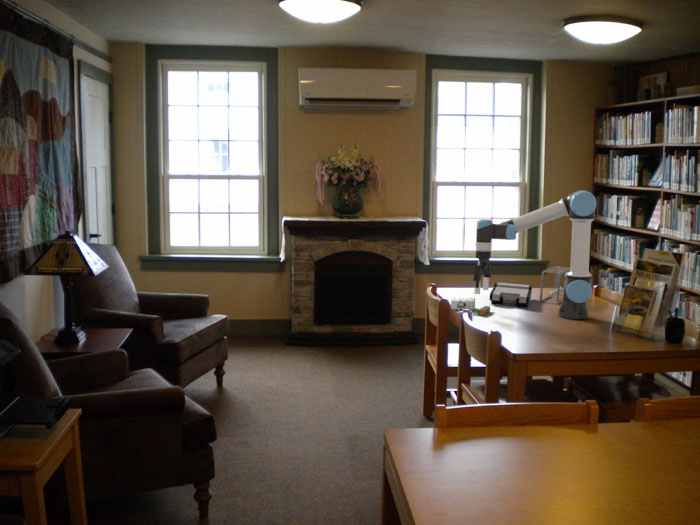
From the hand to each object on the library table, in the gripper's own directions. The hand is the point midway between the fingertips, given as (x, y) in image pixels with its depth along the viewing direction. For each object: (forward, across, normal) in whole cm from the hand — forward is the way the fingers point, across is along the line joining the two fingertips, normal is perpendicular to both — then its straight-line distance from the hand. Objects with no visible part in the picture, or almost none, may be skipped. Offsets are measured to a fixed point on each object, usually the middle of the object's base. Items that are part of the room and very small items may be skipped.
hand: (481, 292), depth 360 cm
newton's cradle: (+13, -68, +24) cm, 73 cm away
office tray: (+12, -41, +4) cm, 43 cm away
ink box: (+8, -7, -5) cm, 12 cm away
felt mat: (+11, 0, -3) cm, 12 cm away
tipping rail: (+11, 0, +2) cm, 11 cm away
